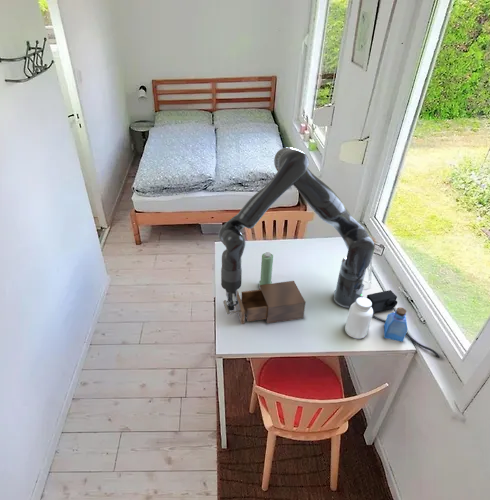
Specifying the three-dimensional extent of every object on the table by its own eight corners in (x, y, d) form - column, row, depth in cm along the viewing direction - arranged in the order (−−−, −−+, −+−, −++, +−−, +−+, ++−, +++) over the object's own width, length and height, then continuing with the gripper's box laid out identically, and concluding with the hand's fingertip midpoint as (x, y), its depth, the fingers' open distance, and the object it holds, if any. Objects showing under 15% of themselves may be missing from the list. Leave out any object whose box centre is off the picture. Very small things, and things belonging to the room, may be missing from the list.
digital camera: (371, 316, 149) (375, 303, 145) (363, 307, 153) (367, 294, 149) (394, 311, 151) (399, 298, 147) (386, 302, 155) (390, 289, 151)
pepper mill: (273, 287, 165) (276, 254, 155) (265, 293, 162) (268, 259, 152) (264, 281, 168) (267, 248, 158) (256, 287, 166) (258, 253, 155)
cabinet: (267, 323, 148) (268, 307, 143) (258, 300, 159) (259, 285, 154) (303, 318, 150) (305, 302, 145) (291, 296, 160) (293, 280, 155)
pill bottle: (367, 327, 145) (376, 297, 136) (365, 342, 139) (374, 312, 130) (346, 321, 148) (353, 292, 139) (343, 335, 142) (350, 306, 133)
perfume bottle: (401, 329, 143) (410, 306, 136) (402, 341, 138) (411, 318, 131) (383, 326, 145) (391, 302, 138) (384, 337, 140) (392, 314, 133)
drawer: (227, 326, 146) (227, 313, 142) (222, 305, 156) (222, 292, 152) (275, 319, 148) (276, 306, 144) (266, 299, 158) (267, 286, 154)
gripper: (245, 285, 135) (244, 320, 145) (237, 263, 146) (236, 296, 156) (224, 288, 134) (225, 322, 144) (218, 265, 145) (218, 299, 155)
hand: (231, 309), depth 150 cm, fingers closed
